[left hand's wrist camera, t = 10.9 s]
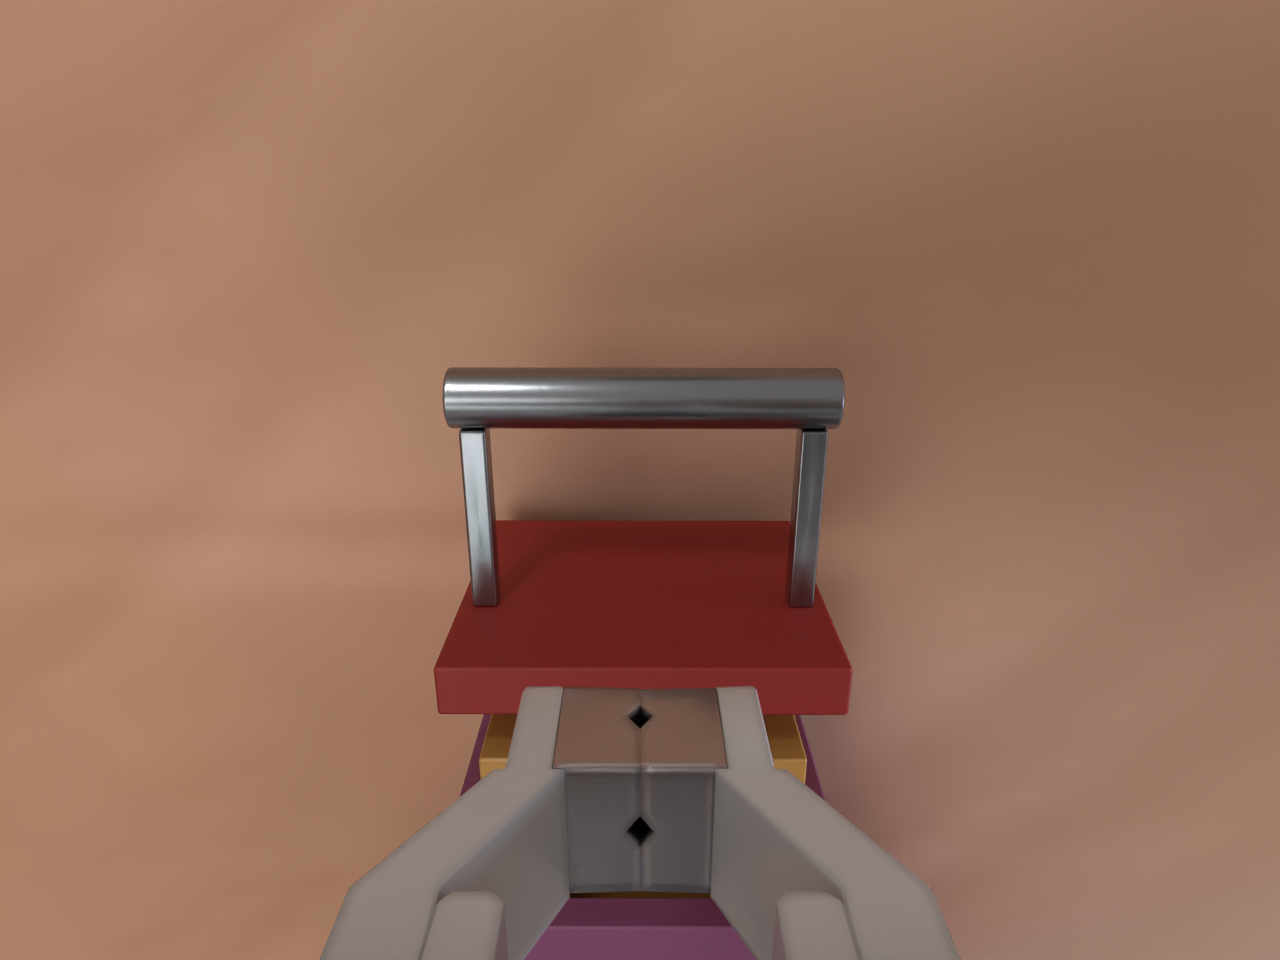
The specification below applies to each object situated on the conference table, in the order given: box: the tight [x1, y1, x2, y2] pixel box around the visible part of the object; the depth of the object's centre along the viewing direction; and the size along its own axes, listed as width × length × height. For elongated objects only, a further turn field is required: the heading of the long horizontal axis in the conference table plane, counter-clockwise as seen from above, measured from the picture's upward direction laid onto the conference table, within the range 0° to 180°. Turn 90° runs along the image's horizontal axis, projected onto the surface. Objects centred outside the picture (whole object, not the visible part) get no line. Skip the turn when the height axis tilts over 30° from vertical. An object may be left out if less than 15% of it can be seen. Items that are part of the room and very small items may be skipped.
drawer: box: [434, 367, 853, 898], centre depth 22 cm, size 17×9×8 cm, turn 0°
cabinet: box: [460, 714, 825, 960], centre depth 25 cm, size 13×10×10 cm
